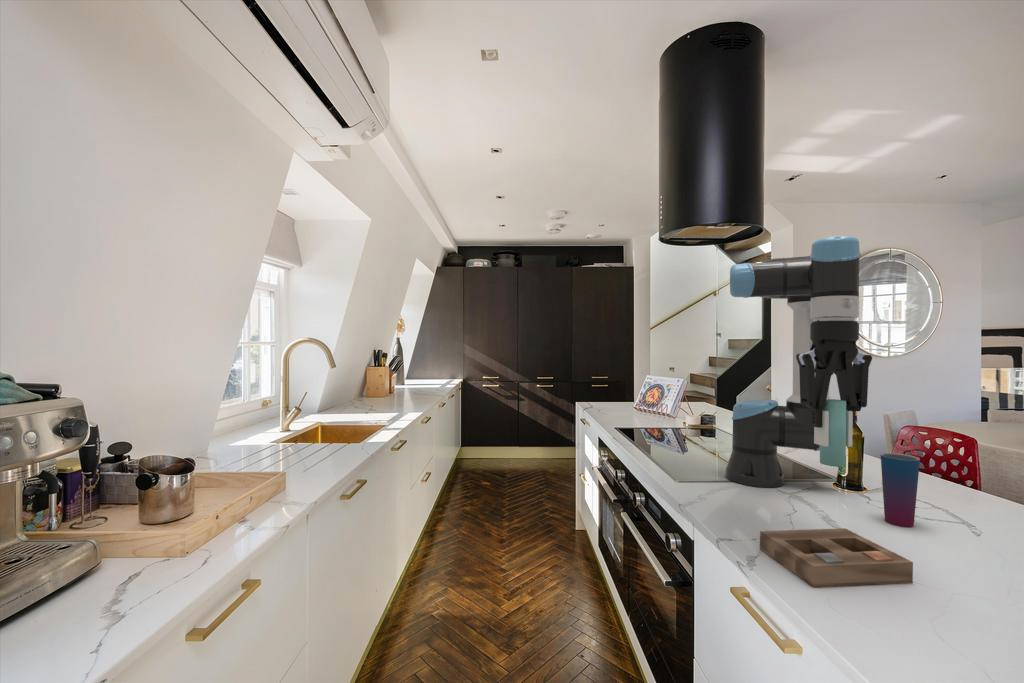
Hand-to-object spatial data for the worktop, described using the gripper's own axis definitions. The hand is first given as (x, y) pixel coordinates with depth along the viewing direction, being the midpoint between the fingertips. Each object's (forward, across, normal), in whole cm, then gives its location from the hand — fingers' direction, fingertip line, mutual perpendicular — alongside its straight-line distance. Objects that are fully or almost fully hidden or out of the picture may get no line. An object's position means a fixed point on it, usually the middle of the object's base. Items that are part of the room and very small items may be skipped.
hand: (832, 444), depth 87 cm
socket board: (+21, -2, -2) cm, 22 cm away
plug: (+4, 0, 0) cm, 4 cm away
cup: (+21, +28, +16) cm, 39 cm away
